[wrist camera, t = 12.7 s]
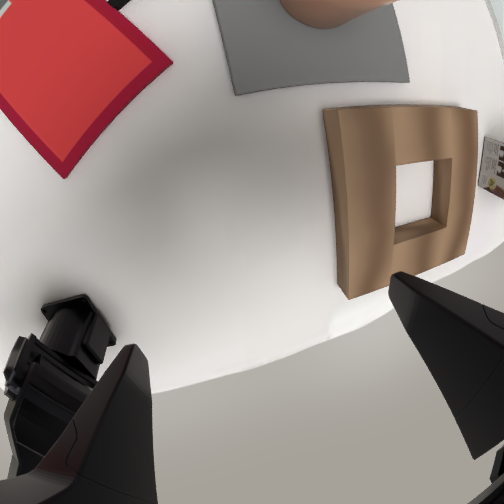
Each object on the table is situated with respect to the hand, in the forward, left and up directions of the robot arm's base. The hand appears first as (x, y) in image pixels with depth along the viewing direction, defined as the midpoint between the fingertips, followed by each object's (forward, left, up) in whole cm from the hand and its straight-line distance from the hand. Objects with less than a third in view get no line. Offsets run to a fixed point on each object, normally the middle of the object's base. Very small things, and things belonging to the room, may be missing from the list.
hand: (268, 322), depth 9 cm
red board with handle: (-12, +22, -14) cm, 29 cm away
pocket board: (+16, -3, -13) cm, 21 cm away
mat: (+9, +14, -13) cm, 21 cm away
